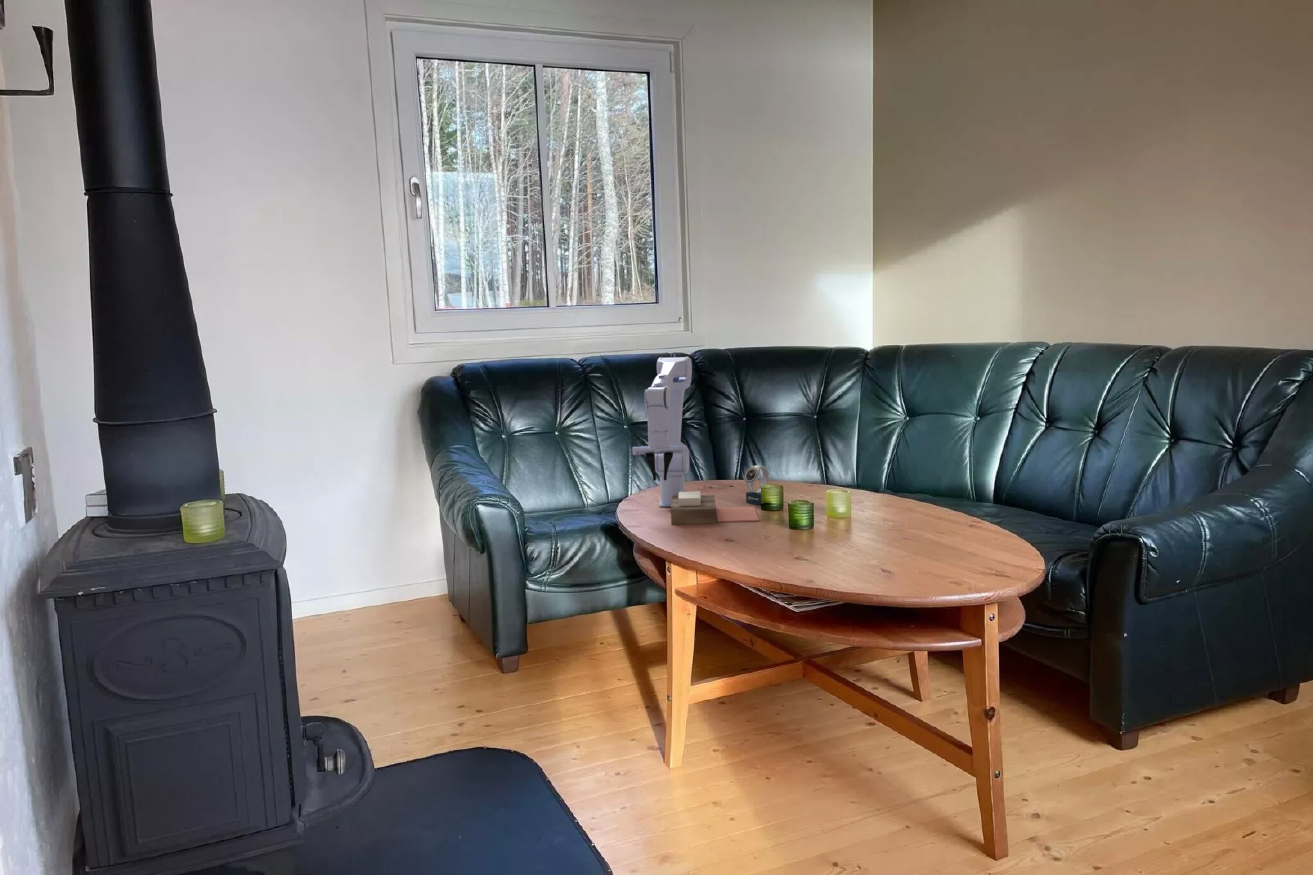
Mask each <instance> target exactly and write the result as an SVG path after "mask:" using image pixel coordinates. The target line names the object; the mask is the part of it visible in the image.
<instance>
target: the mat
mask: <svg viewBox="0 0 1313 875" xmlns="http://www.w3.org/2000/svg"><path fill="white" fill-rule="evenodd" d="M759 521H760V519H759V517H758V514H757V511H756V508H755V506H740V507H739V506H737V507H736V506H732V507H730V506H729V507H716V523H739V522H740V523H741V522H742V523H743V522H747V523H749V522H759Z"/></svg>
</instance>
